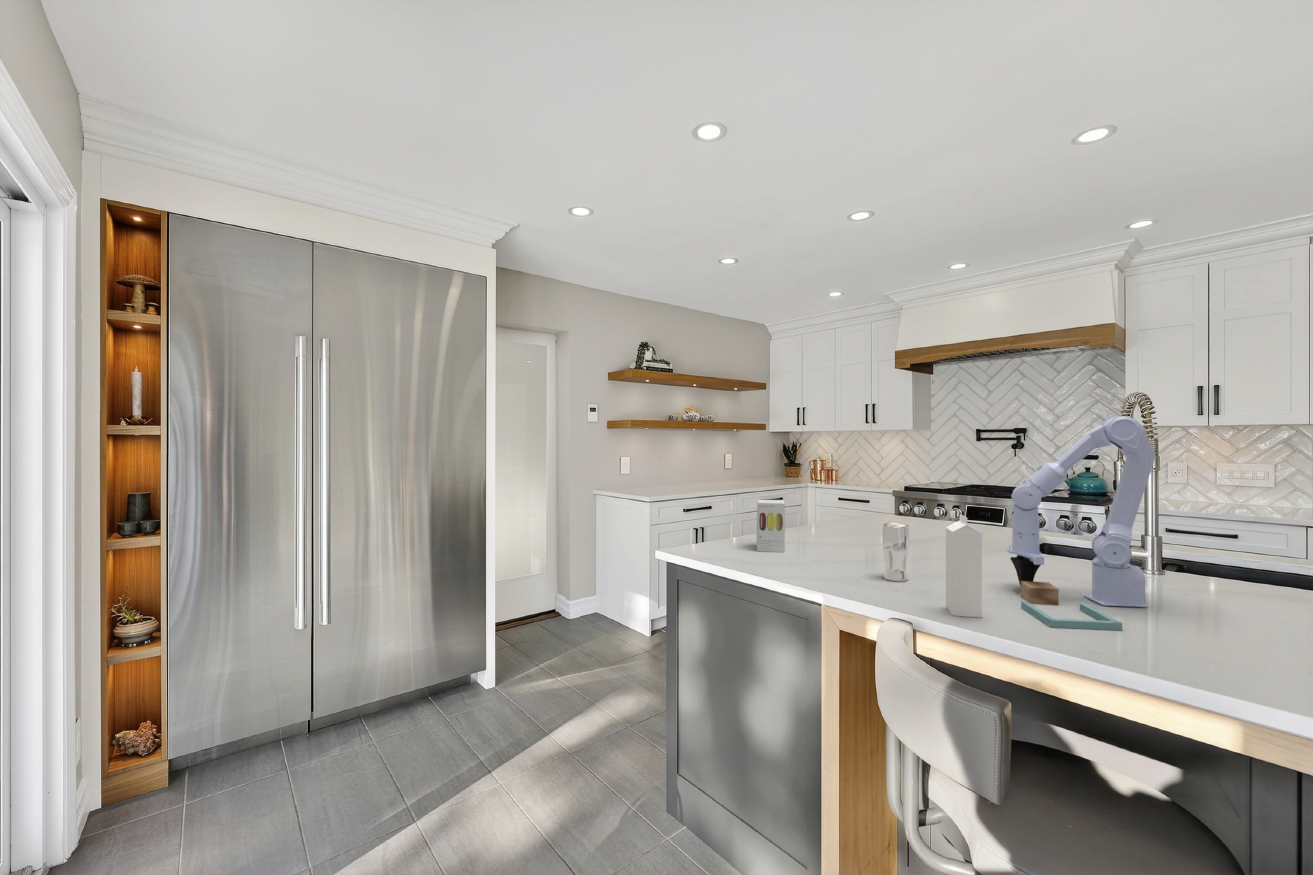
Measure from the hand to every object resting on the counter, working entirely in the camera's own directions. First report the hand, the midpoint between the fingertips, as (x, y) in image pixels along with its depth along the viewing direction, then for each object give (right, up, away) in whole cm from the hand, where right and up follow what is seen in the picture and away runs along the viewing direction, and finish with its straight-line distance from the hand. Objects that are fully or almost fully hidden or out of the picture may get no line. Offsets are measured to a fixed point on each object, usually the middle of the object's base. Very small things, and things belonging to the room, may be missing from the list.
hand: (1025, 586), depth 145 cm
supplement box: (-54, -1, +54) cm, 76 cm away
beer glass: (-27, -2, +14) cm, 30 cm away
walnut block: (-1, -2, -7) cm, 7 cm away
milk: (-24, -2, -15) cm, 28 cm away
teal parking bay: (-3, -2, -20) cm, 20 cm away
